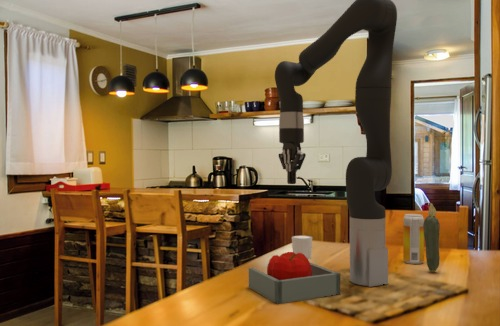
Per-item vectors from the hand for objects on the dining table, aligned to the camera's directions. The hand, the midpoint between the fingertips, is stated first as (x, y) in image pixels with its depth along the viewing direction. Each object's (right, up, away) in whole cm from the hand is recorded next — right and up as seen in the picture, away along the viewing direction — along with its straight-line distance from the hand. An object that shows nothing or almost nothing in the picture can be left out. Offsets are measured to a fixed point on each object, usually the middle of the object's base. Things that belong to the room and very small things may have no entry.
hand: (291, 183), depth 146 cm
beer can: (+39, -25, +3) cm, 46 cm away
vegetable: (+39, -25, -10) cm, 48 cm away
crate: (-2, -25, -28) cm, 38 cm away
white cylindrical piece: (+4, -25, +10) cm, 27 cm away
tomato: (-3, -26, -27) cm, 37 cm away
